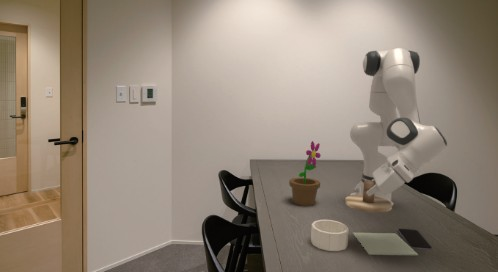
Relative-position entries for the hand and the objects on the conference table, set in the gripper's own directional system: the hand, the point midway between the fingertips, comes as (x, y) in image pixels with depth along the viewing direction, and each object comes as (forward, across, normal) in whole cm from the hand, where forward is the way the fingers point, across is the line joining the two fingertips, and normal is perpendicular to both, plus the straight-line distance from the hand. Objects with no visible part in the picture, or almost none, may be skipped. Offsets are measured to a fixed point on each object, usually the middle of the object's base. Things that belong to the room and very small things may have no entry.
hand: (366, 192), depth 114 cm
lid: (+3, 0, +4) cm, 4 cm away
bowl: (+21, +3, +5) cm, 22 cm away
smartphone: (+1, -10, +26) cm, 28 cm away
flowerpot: (+30, -38, -4) cm, 49 cm away
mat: (+8, -2, +18) cm, 20 cm away
